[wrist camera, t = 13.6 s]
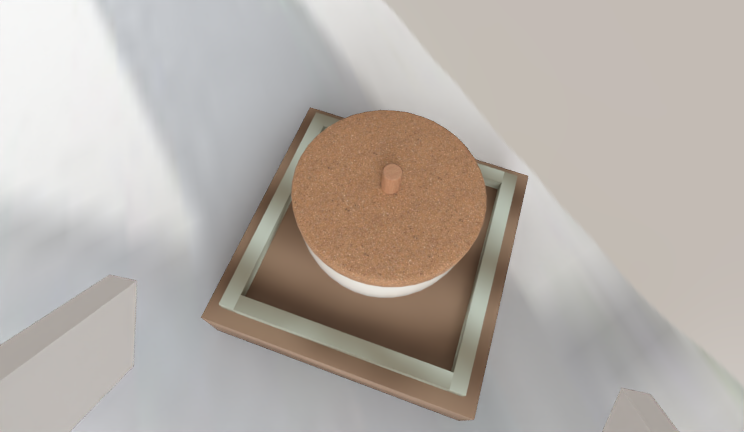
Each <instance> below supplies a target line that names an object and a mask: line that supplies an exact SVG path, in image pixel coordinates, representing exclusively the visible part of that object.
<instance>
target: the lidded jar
mask: <svg viewBox="0 0 744 432" xmlns="http://www.w3.org/2000/svg"><path fill="white" fill-rule="evenodd" d="M291 198H292V207H293V212H294V215H295V219H296V222H297V226H298V228H299V230H300V232H301V234H302V236H303V239H304V242H305V244H306V246H307V248H308V250H309V252H310V254H311V255H312V257H313V258H314V259H315V261H316V262H317V264H318V265H319V266H320V268H321V269H322V270H323V271H324V272H325V273H326V274H327V275H328V276H329V277H331V278H332V279H333V280H335V281H336V282H338V283H339V284H340V285H342V286H343V287H345V288H347V289H349V290H351V291H353V292H356V293H359V294H362V295H365V296H370V297H377V298H395V297H401V296H406V295H409V294H413V293H416V292H419V291H421V290H423V289H425V288H427V287H429V286H431V285H433V284H434V283H435V282H437V281H438V280H439V279H441V278H442V277H443V276H445V275H446V274H447V273H448V272H449V271H450V270H451V269H452V268H453V267H454V266H455V265H456V264H457V263H458V262H459V261H460V260H461V259H462V258H463V256H464V255H465V254H466V253H467V252H468V251H469V249H470V248H471V246H472V245H473V243H474V242H475V240H476V239H477V237H478V235H479V233H480V230H481V228H482V225H483V223H484V218H485V213H486V202H487V195H486V188H485V182H484V179H483V176H482V173H481V170H480V168H479V166H478V164H477V162H476V160H475V158H474V157H473V155H472V154H471V153H470V151H469V150H468V149H467V147H466V146H465V145H464V144H463V143H462V142H461V141H460V140H459V139H458V138H457V137H456V136H455V135H453V134H452V133H451V132H449V131H448V130H447V129H445V128H444V127H442V126H440V125H439V124H437V123H435V122H434V121H431V120H429V119H426V118H424V117H421V116H418V115H415V114H411V113H408V112H400V111H389V110H378V111H370V112H364V113H359V114H355V115H352V116H349V117H347V118H344V119H342V120H340V121H338V122H336V123H334V124H332V125H331V126H329V127H327V128H326V129H325V130H324V131H322V132H321V133H320V134H318V135H317V136H316V137H315V138H314V139H313V140H312V142H311V143H310V144H309V145H308V146H307V148H306V149H305V151H304V152H303V154H302V155H301V157H300V159H299V161H298V163H297V166H296V168H295V172H294V176H293V180H292V190H291Z"/></svg>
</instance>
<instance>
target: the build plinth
mask: <svg viewBox="0 0 744 432" xmlns="http://www.w3.org/2000/svg"><path fill="white" fill-rule="evenodd" d="M342 119H344V118H342V117H339V116H336V115H333V114H330V113H327V112H323V111H320V110H317V109H314V108H311V107H310V109H309V111H308V112H307V114H306V116H305V118H304V120H303V122H302V124H301V126H300V128H299V130H298V132H297V134H296V136H295V137H294V139H293V141H292V143H291V145H290V147H289V149H288V151H287V153H286V155H285V157H284V159H283V161H282V162H281V164H280V166H279V168H278V170H277V172H276V174H275V176H274V178H273V180H272V182H271V184H270V186H269V187H268V189H267V191H266V193H265V195H264V197H263V199H262V201H261V203H260V205H259V207H258V209H257V211H256V213H255V214H254V216H253V218H252V220H251V222H250V224H249V226H248V228H247V230H246V232H245V234H244V236H243V238H242V239H241V241H240V243H239V245H238V247H237V249H236V251H235V253H234V255H233V257H232V259H231V261H230V263H229V264H228V266H227V268H226V270H225V272H224V274H223V276H222V278H221V280H220V282H219V284H218V286H217V288H216V289H215V291H214V293H213V295H212V297H211V299H210V301H209V303H208V305H207V307H206V309H205V311H204V313H203V314H202V316H201V318H202V319H204V320H205V321H206V322H208V323H209V324H210V325H212V326H213V327H214V328H216V329H217V330H219V331H222V332H224V333H227V334H230V335H232V336H235V337H238V338H240V339H243V340H246V341H248V342H251V343H254V344H256V345H259V346H262V347H264V348H267V349H270V350H272V351H275V352H278V353H280V354H283V355H286V356H288V357H291V358H294V359H296V360H299V361H301V362H304V363H307V364H309V365H312V366H315V367H317V368H320V369H323V370H325V371H328V372H331V373H333V374H336V375H339V376H341V377H344V378H347V379H349V380H352V381H355V382H357V383H360V384H363V385H365V386H368V387H371V388H373V389H376V390H379V391H381V392H384V393H387V394H389V395H392V396H395V397H397V398H400V399H403V400H405V401H408V402H411V403H413V404H416V405H419V406H421V407H424V408H426V409H429V410H432V411H434V412H437V413H440V414H442V415H445V416H448V417H450V418H453V419H456V420H458V421H462V420H474V418H475V413H476V409H477V404H478V400H479V395H480V391H481V386H482V382H483V377H484V373H485V368H486V364H487V359H488V355H489V350H490V346H491V341H492V337H493V332H494V328H495V323H496V319H497V315H498V310H499V306H500V301H501V297H502V292H503V288H504V283H505V279H506V274H507V270H508V265H509V261H510V256H511V252H512V247H513V243H514V238H515V234H516V229H517V225H518V220H519V216H520V211H521V207H522V202H523V198H524V194H525V189H526V185H527V180H528V176H527V175H524V174H521V173H517V172H514V171H511V170H508V169H505V168H501V167H498V166H495V165H492V164H489V163H486V162H482V161H479V160H476V159H475V160H476V162H477V164H478V166H479V168H480V170H481V173H482V176H483V179H484V182H485V188H486V195H487V202H486V213H485V218H484V223H483V225H482V228H481V230H480V233H479V235H478V237H477V239H476V240H475V242H474V243H473V245H472V246H471V248H470V249H469V251H468V252H467V253H466V254H465V255H464V256H463V258H462V259H461V260H460V261H459V262H458V263H457V264H456V265H455V266H454V267H453V268H452V269H451V270H450V271H449V272H448V273H447V274H446V275H445V276H443V277H442V278H441V279H439V280H438V281H437V282H435V283H434V284H433V285H431V286H429V287H427V288H425V289H423V290H421V291H419V292H416V293H413V294H409V295H406V296H401V297H395V298H377V297H370V296H365V295H362V294H359V293H356V292H353V291H351V290H349V289H347V288H345V287H343V286H342V285H340V284H339V283H338V282H336V281H335V280H333V279H332V278H331V277H329V276H328V275H327V274H326V273H325V272H324V271H323V270H322V269H321V268H320V266H319V265H318V264H317V262H316V261H315V259H314V258H313V257H312V255H311V254H310V252H309V250H308V248H307V246H306V244H305V242H304V239H303V236H302V234H301V232H300V230H299V228H298V226H297V222H296V219H295V215H294V212H293V207H292V198H291V190H292V180H293V176H294V172H295V168H296V166H297V163H298V161H299V159H300V157H301V155H302V154H303V152H304V151H305V149H306V148H307V146H308V145H309V144H310V143H311V142H312V140H313V139H314V138H315V137H316V136H317V135H318V134H320V133H321V132H322V131H324V130H325V129H326V128H327V127H329V126H331V125H332V124H334V123H336V122H338V121H340V120H342Z"/></svg>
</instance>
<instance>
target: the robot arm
mask: <svg viewBox="0 0 744 432" xmlns="http://www.w3.org/2000/svg"><path fill="white" fill-rule="evenodd" d="M136 296H137V281H136V280H132V279H127V278H123V277H118V276H114V275H108V276H107V277H105V278H104V279H102V280H100V281H99V282H97V283H96V284H94V285H93V286H91V287H90V288H88V289H86V290H85V291H83V292H82V293H80V294H79V295H77V296H76V297H74V298H73V299H71V300H69V301H68V302H66V303H65V304H63V305H62V306H60V307H59V308H57V309H55V310H54V311H52V312H51V313H49V314H48V315H46V316H45V317H43V318H42V319H40V320H38V321H37V322H35V323H34V324H32V325H31V326H29V327H28V328H26V329H24V330H23V331H21V332H20V333H18V334H17V335H15V336H14V337H12V338H11V339H9V340H7V341H6V342H4V343H3V344H1V345H0V432H70V431H71V430H72V429H73V428H74V427H75V426H76V425H77V424H78V423H79V422H80V421H81V420H82V419H83V418H84V417H85V416H86V415H87V414H88V413H89V412H90V411H91V410H92V409H93V408H94V407H95V406H96V405H97V404H98V403H99V402H100V400H101V399H102V398H103V397H104V396H105V395H106V394H107V393H108V392H109V391H110V390H111V389H112V388H113V387H114V386H115V385H116V384H117V383H118V382H119V381H120V380H121V379H122V378H123V377H124V376H125V375H126V374H127V373H128V372H129V371H130V370H131V369H132V367H133V366H134V347H135V322H136ZM602 432H679V431H678V430H677V428H676V427H675V426H674V424H673V423H672V422H671V420H670V419H669V418H668V417H667V415H666V414H665V413H664V411H663V410H662V409H661V407H660V406H659V405H658V403H657V402H656V401H655V399H654V398H653V397H652V396H651V394H647V393H643V392H638V391H634V390H629V389H625V388H621V390H620V392H619V395H618V397H617V399H616V401H615V404H614V406H613V408H612V410H611V413H610V415H609V417H608V419H607V422H606V424H605V426H604V428H603V431H602Z"/></svg>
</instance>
